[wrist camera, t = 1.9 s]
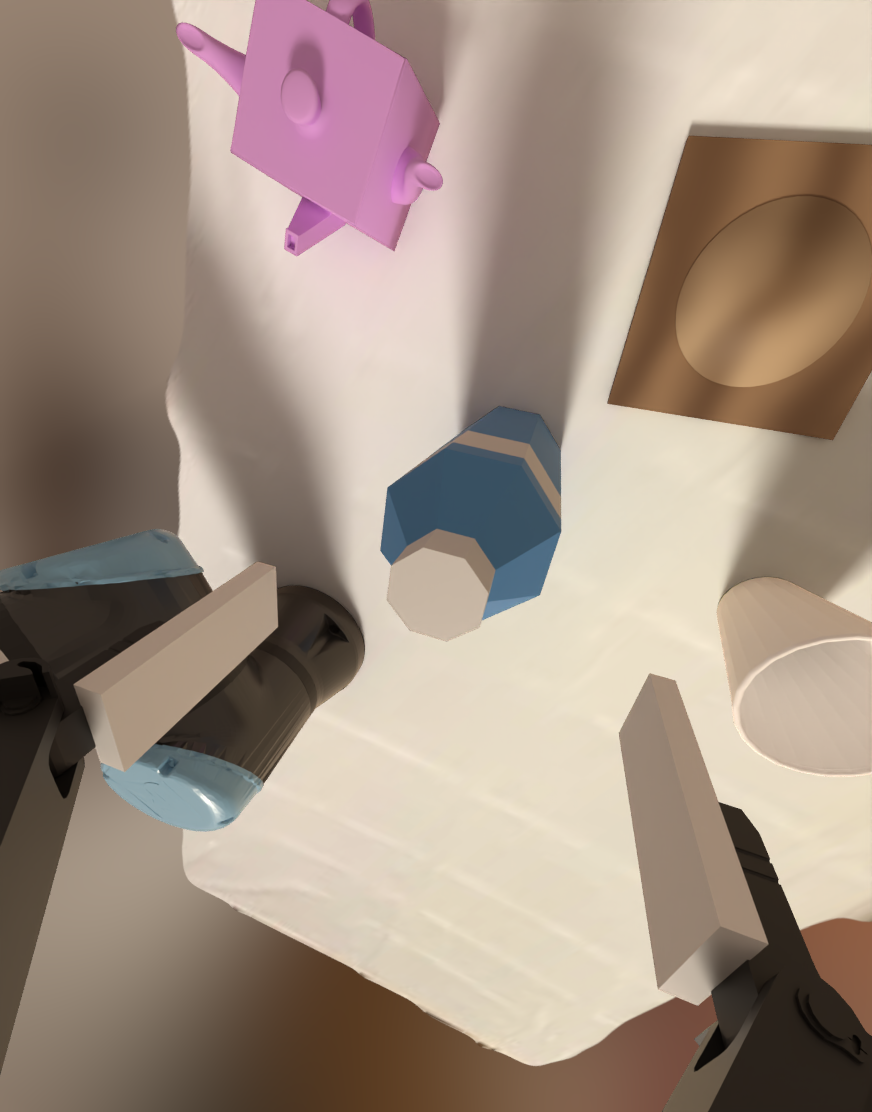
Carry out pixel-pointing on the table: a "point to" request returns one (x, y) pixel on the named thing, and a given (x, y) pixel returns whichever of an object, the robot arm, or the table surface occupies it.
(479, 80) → the table surface
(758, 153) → the plate
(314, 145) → the teapot
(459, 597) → the water bottle
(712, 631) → the table surface
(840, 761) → the cup
